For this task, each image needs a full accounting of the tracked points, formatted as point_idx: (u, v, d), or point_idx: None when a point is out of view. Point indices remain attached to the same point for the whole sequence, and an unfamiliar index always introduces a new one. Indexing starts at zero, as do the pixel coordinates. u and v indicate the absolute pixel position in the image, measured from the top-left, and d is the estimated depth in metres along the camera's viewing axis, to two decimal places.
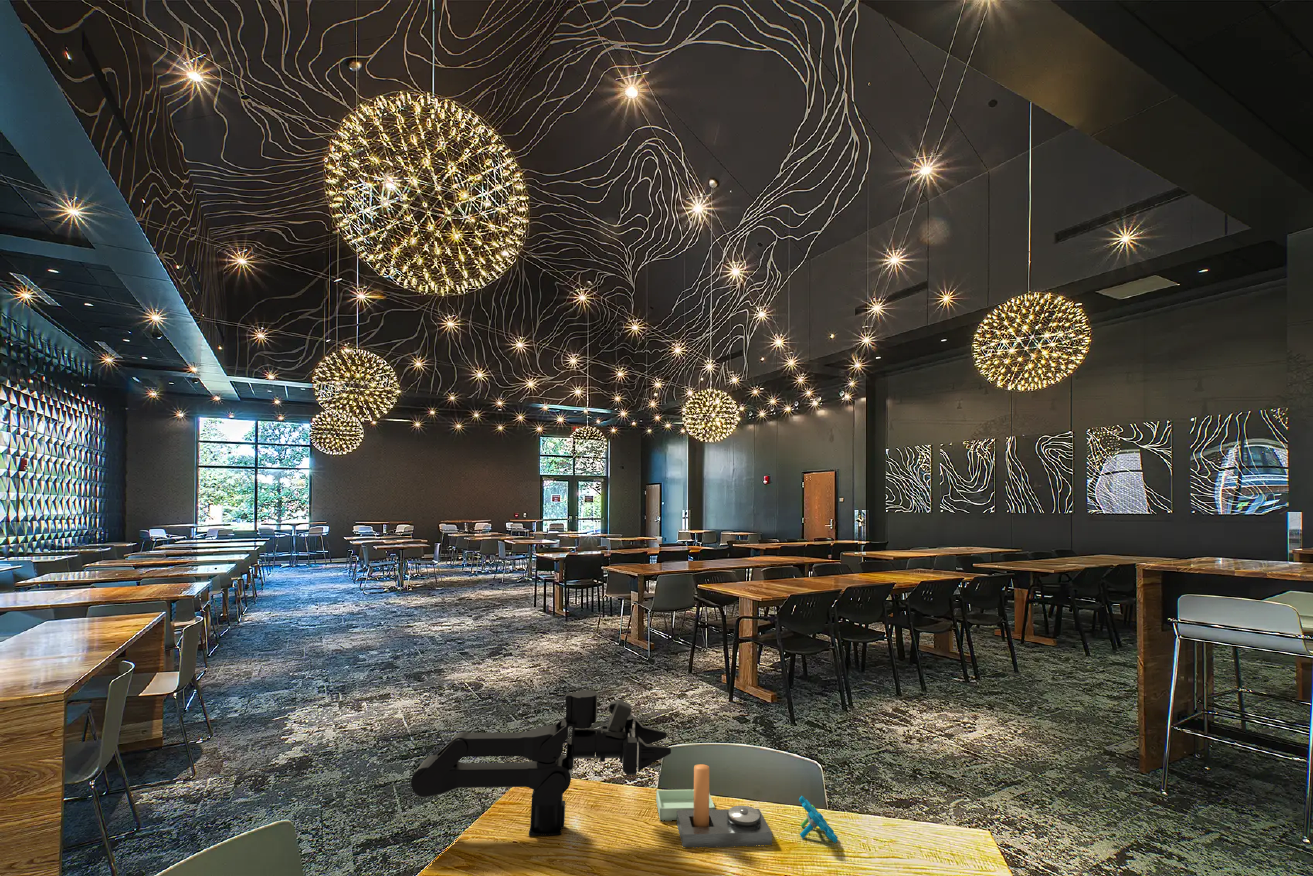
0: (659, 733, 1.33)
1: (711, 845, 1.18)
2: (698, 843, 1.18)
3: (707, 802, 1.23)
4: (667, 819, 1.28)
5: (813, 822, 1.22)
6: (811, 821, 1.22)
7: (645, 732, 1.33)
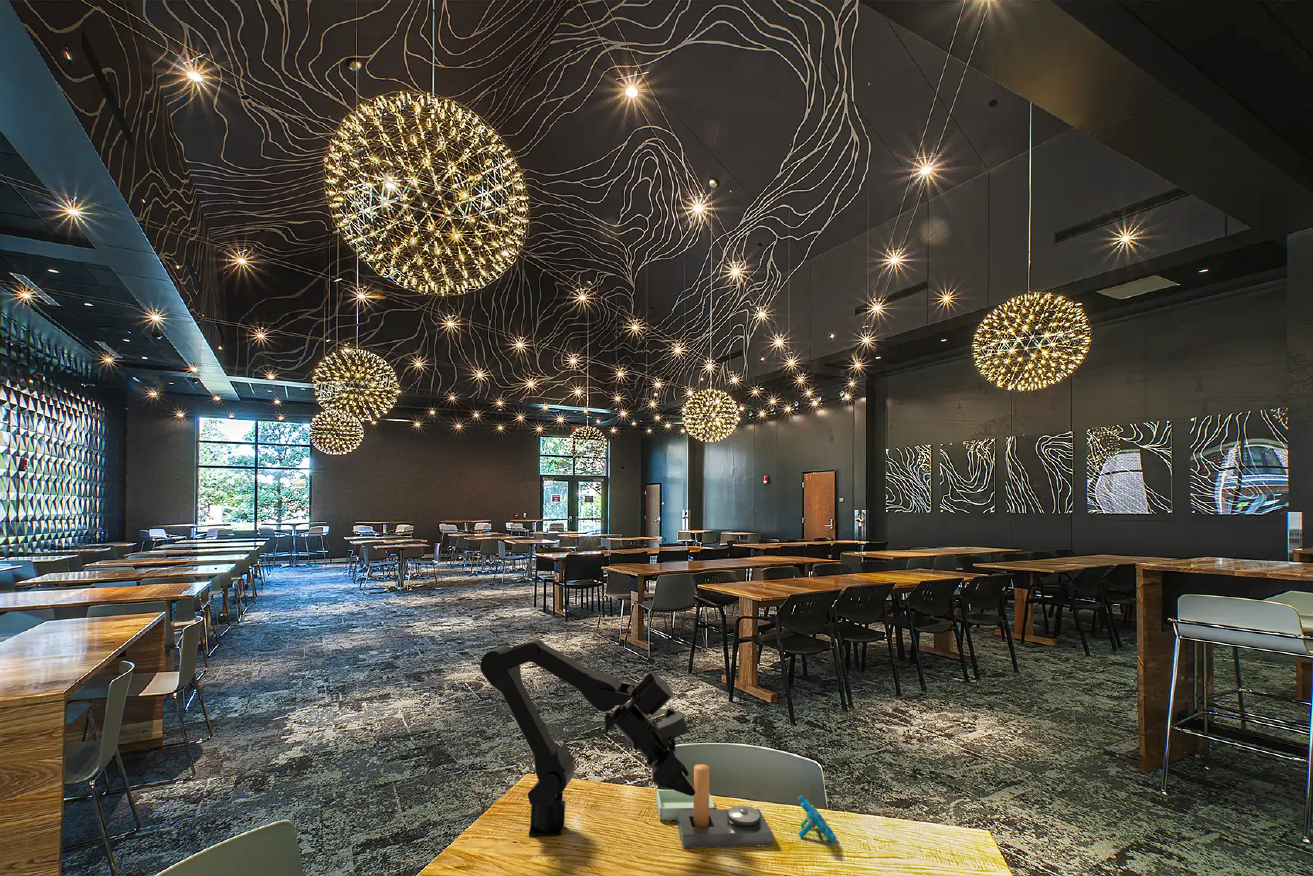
0: (684, 768, 1.28)
1: (711, 845, 1.18)
2: (698, 843, 1.18)
3: (707, 802, 1.23)
4: (667, 819, 1.28)
5: (812, 822, 1.22)
6: (810, 821, 1.22)
7: None
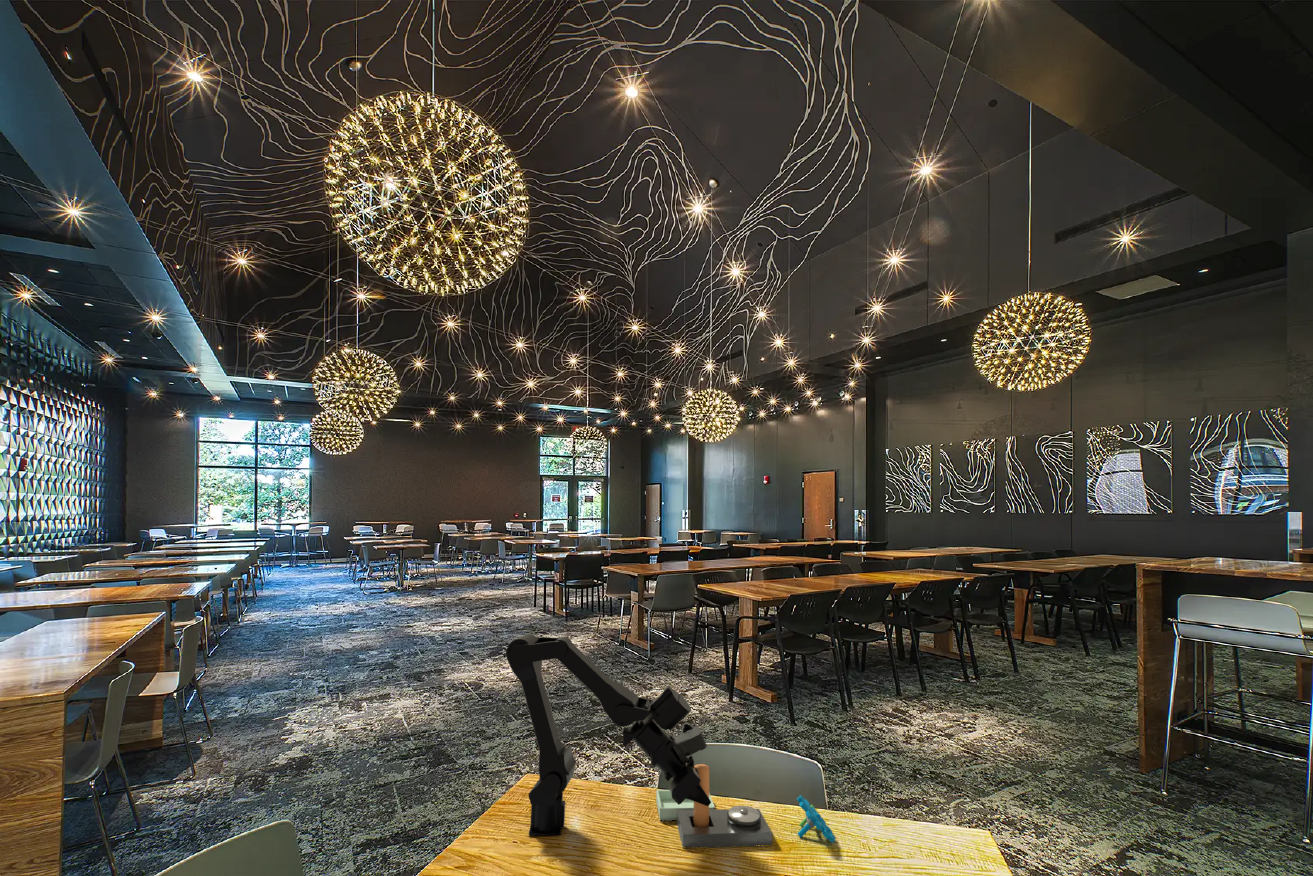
0: None
1: (711, 845, 1.18)
2: (698, 843, 1.18)
3: None
4: (667, 819, 1.28)
5: (811, 822, 1.22)
6: (809, 820, 1.23)
7: None
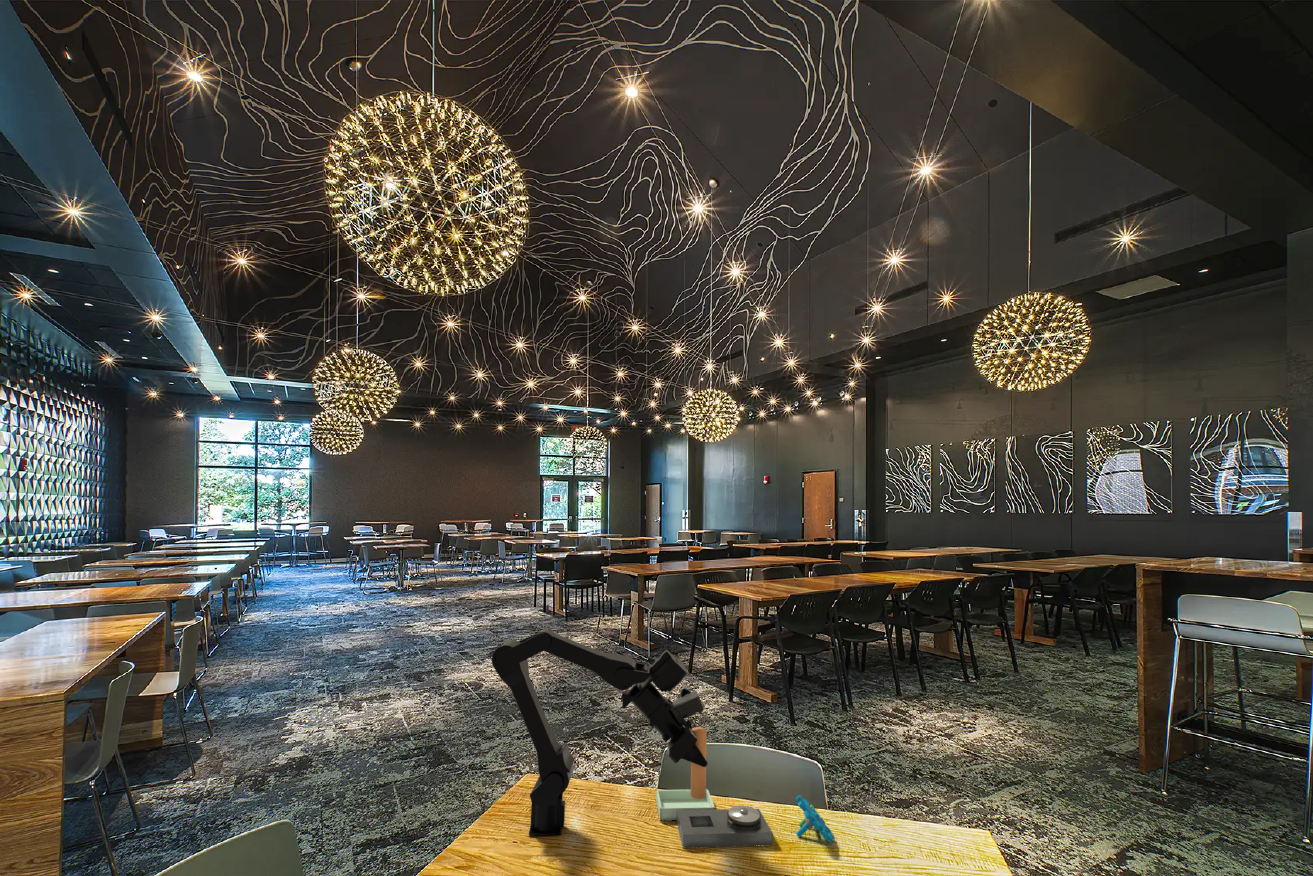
0: None
1: (711, 845, 1.18)
2: (698, 843, 1.18)
3: None
4: (667, 819, 1.28)
5: (809, 821, 1.22)
6: (808, 820, 1.23)
7: None
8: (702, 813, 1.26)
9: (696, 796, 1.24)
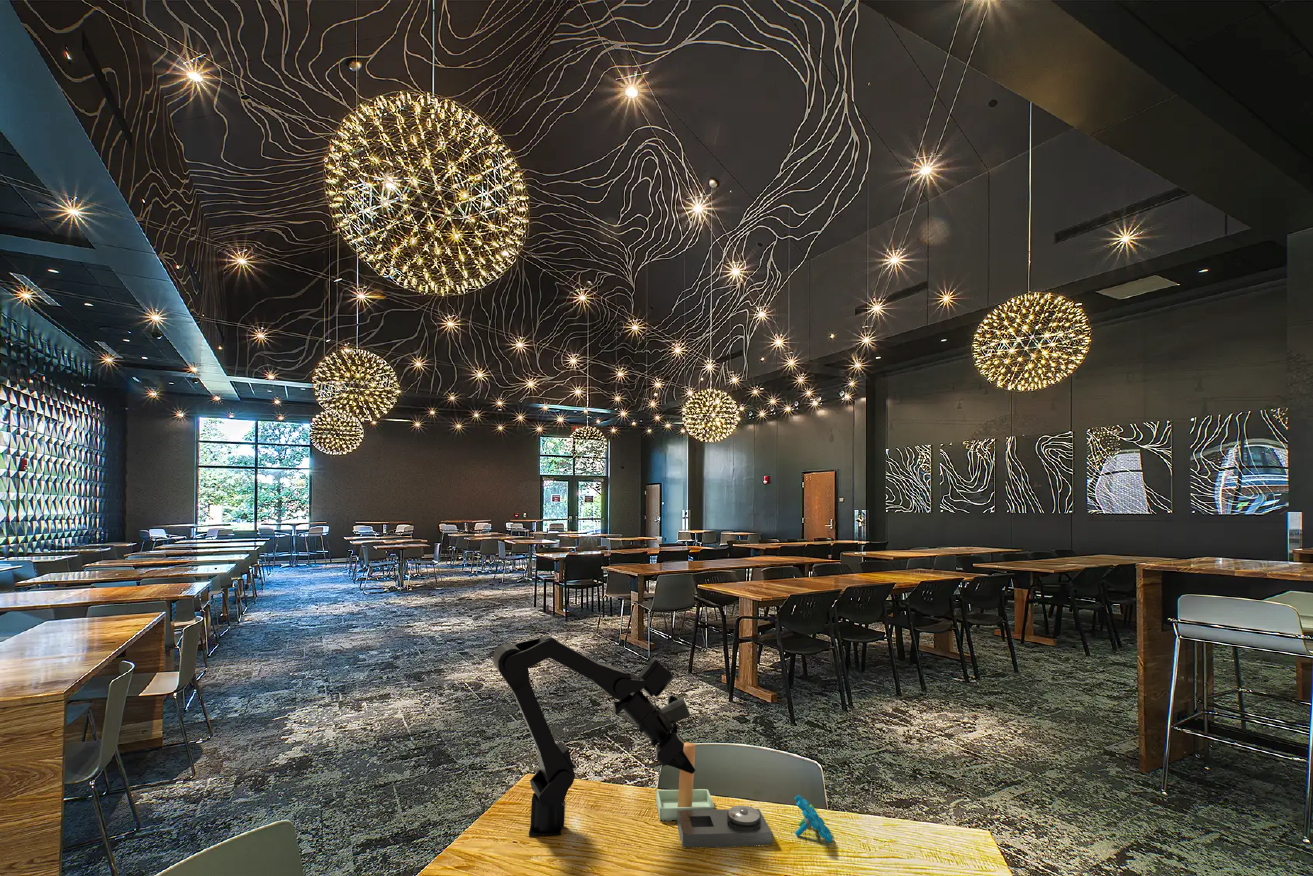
0: None
1: (711, 845, 1.18)
2: (698, 843, 1.18)
3: (692, 777, 1.33)
4: (667, 819, 1.28)
5: (808, 821, 1.22)
6: (806, 820, 1.23)
7: None
8: (702, 813, 1.26)
9: None
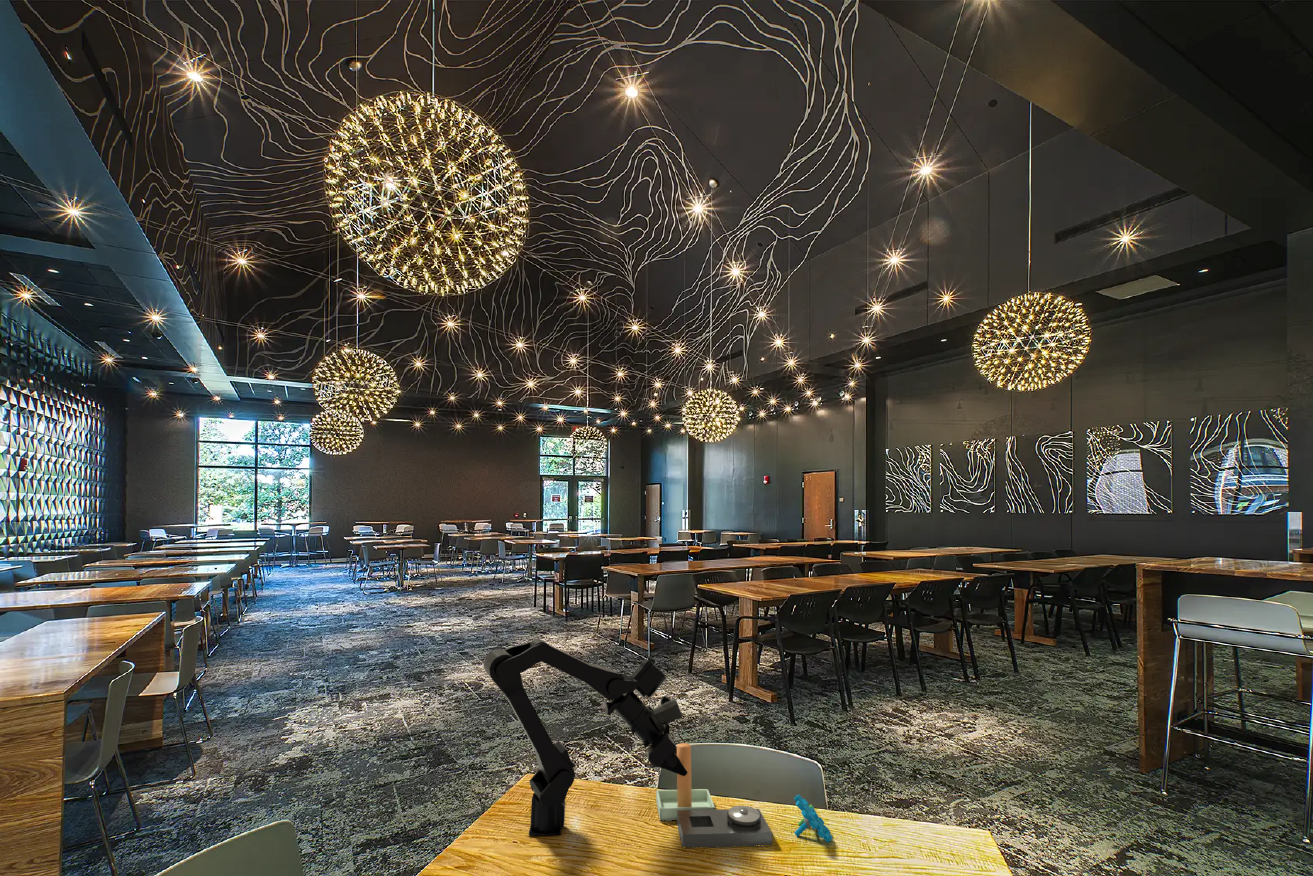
0: None
1: (711, 845, 1.18)
2: (698, 843, 1.18)
3: (689, 777, 1.33)
4: (667, 819, 1.28)
5: (807, 821, 1.22)
6: (806, 820, 1.23)
7: None
8: (702, 813, 1.26)
9: None
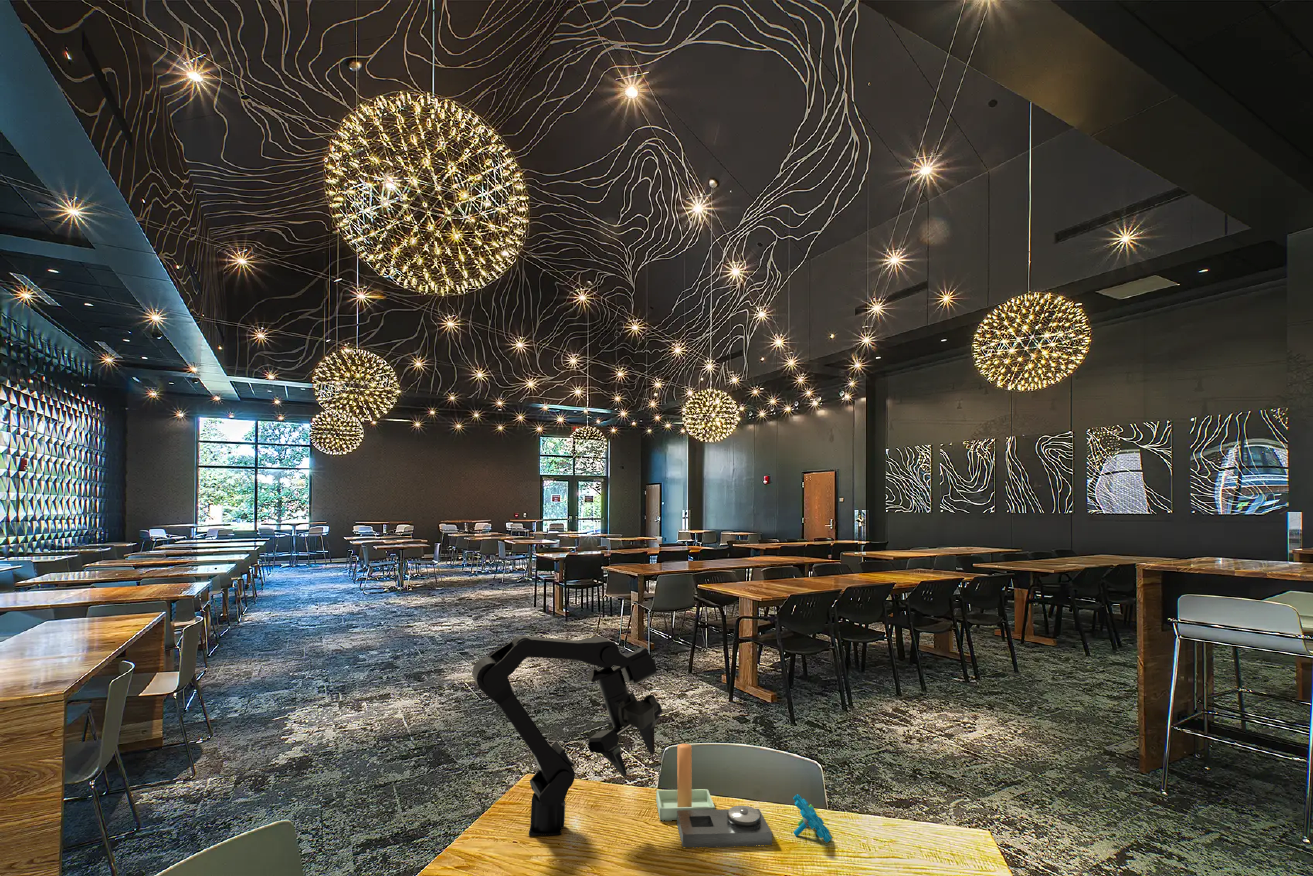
0: (651, 747, 1.34)
1: (711, 845, 1.18)
2: (698, 843, 1.18)
3: (689, 778, 1.33)
4: (667, 819, 1.28)
5: (807, 821, 1.23)
6: (805, 820, 1.23)
7: (648, 732, 1.35)
8: (702, 813, 1.26)
9: None
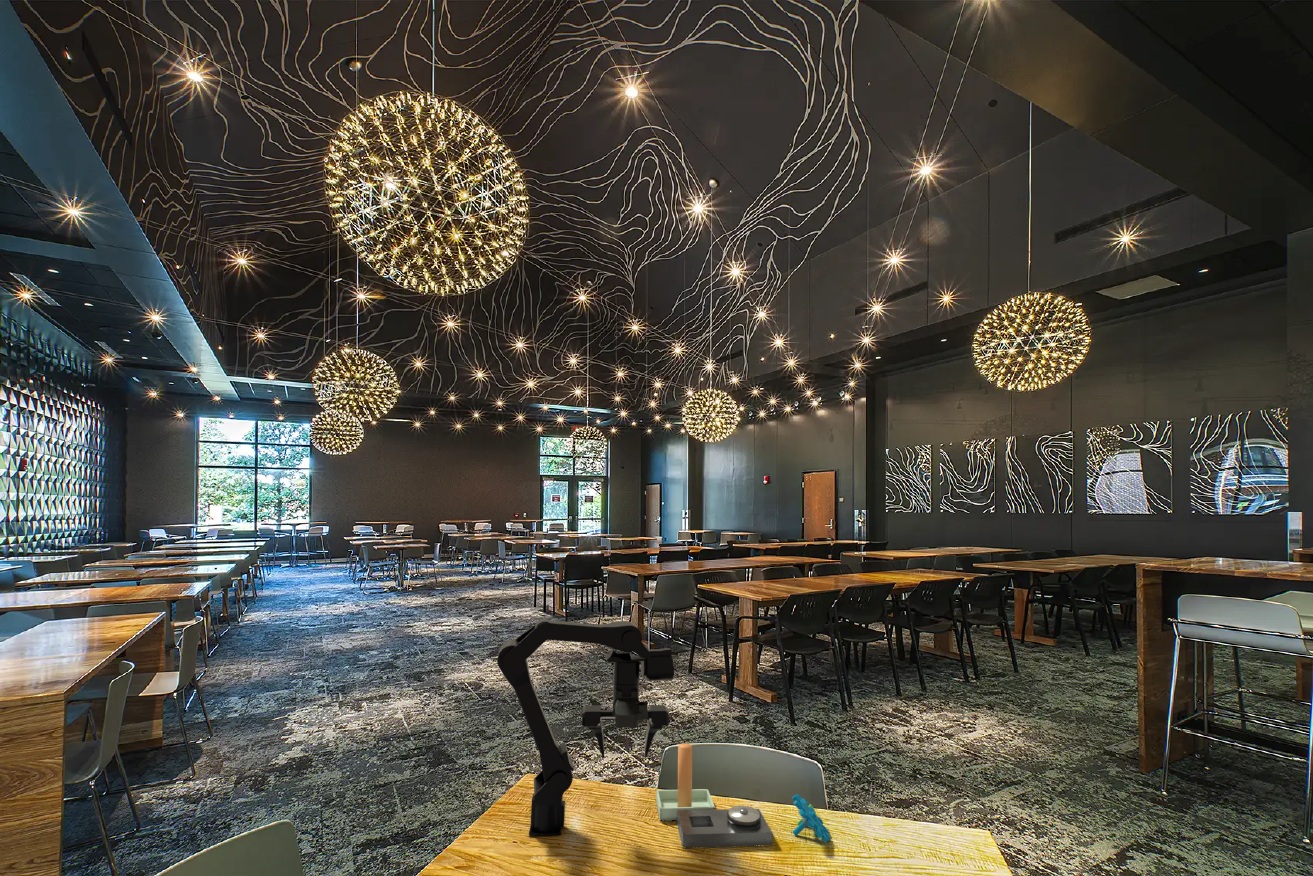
0: (645, 750, 1.29)
1: (711, 845, 1.18)
2: (698, 843, 1.18)
3: (690, 778, 1.33)
4: (667, 819, 1.28)
5: (806, 820, 1.23)
6: (804, 819, 1.23)
7: (647, 735, 1.30)
8: (702, 813, 1.26)
9: None
